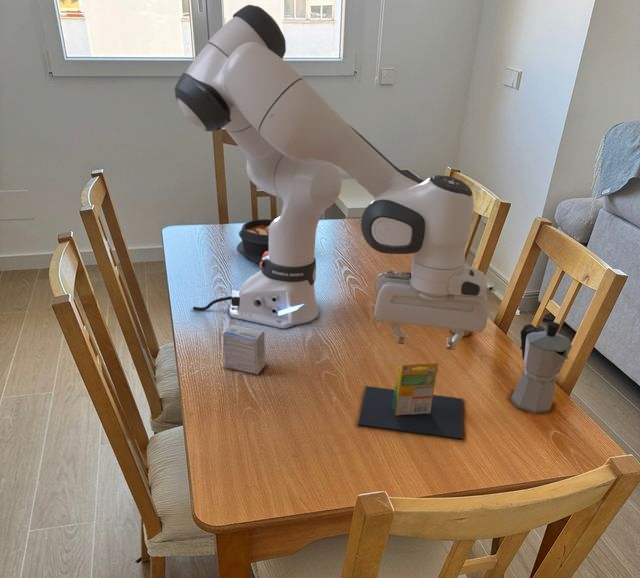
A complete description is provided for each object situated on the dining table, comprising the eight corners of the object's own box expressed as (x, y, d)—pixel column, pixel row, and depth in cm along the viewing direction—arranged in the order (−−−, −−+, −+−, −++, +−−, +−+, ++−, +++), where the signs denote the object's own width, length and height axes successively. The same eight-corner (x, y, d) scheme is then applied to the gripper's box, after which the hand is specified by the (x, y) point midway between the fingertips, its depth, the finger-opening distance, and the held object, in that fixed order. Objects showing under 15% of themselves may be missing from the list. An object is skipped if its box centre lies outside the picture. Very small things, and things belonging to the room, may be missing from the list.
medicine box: (265, 365, 139) (265, 330, 134) (257, 375, 135) (256, 340, 130) (233, 358, 141) (231, 323, 136) (224, 368, 137) (222, 332, 132)
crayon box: (425, 405, 128) (434, 355, 121) (430, 413, 126) (439, 363, 119) (391, 407, 127) (398, 357, 120) (395, 416, 125) (402, 365, 118)
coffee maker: (567, 415, 128) (593, 337, 118) (529, 421, 126) (553, 341, 115) (527, 377, 140) (548, 303, 129) (492, 382, 137) (510, 306, 127)
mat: (358, 425, 122) (358, 424, 122) (366, 387, 133) (366, 386, 133) (462, 440, 120) (462, 438, 120) (461, 400, 131) (462, 398, 131)
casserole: (306, 268, 184) (307, 240, 179) (242, 271, 180) (242, 243, 175) (289, 238, 204) (289, 212, 199) (231, 241, 200) (230, 214, 195)
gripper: (375, 276, 108) (368, 347, 117) (496, 289, 106) (480, 360, 115) (378, 263, 114) (371, 331, 122) (493, 274, 111) (478, 343, 120)
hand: (425, 345), depth 118 cm, fingers open, 8 cm apart
